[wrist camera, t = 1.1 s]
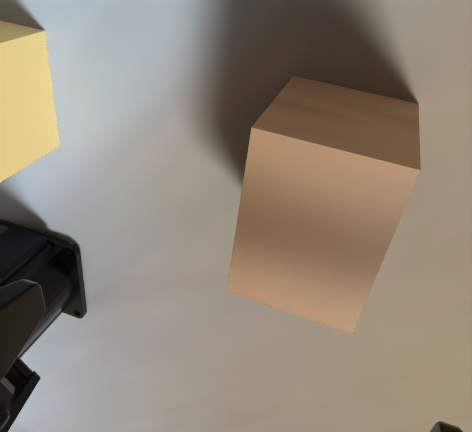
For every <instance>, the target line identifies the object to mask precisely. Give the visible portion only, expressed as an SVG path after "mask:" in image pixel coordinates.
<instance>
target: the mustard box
mask: <svg viewBox="0 0 472 432" xmlns="http://www.w3.org/2000/svg"><path fill="white" fill-rule="evenodd" d="M58 146H60V144H59V136H58V128H57V120H56V112H55V105H54V97H53V89H52V81H51V73H50V65H49V57H48V49H47V41H46V34H45V31H44V30H40V29H36V28H31V27H27V26H22V25H18V24H14V23H9V22H5V21H1V20H0V182H2V181H3V180H5V179H7V178H8V177H10V176H11V175H13V174H15V173H16V172H18V171H19V170H21V169H23V168H24V167H26V166H28V165H29V164H31V163H32V162H34V161H36V160H37V159H39V158H41V157H42V156H44V155H45V154H47V153H49V152H50V151H52V150H53V149H55V148H57V147H58Z"/></svg>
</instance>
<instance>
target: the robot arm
mask: <svg viewBox="0 0 472 432" xmlns="http://www.w3.org/2000/svg"><path fill="white" fill-rule="evenodd" d="M62 312H64V313H66V314H69V315H72V316H74V317H77V318H83V317H84V315H85V314H86V313H87V310H86V301H85V292H84V283H83V274H82V265H81V257H80V251H79V249H78V248H77V247H76V246H75V245H73V244H70V243H67V242H64V241H61V240H58V239H55V238H53V237H50V236H47V235H44V234H41V233H38V232H35V231H32V230H29V229H26V228H23V227H20V226H17V225H14V224H11V223H8V222H5V221H2V220H0V432H8V430H9V429H10V427H11V425H12V424H13V422H14V421H15V419H16V417H17V416H18V414H19V412H20V411H21V409H22V407H23V406H24V404H25V403H26V401H27V399H28V398H29V396H30V394H31V393H32V391H33V390H34V388H35V386H36V385H37V383H38V381H39V380H40V378H41V377H40V376H39V375H38V374H37V373H36V372H35V371H32V370H31V369H30V368H29V367H28V366H27V365H26V364H25V363H24V362H23V361H22V360H21V359H20V358H21V357H22V356H23V355H24V353H25V352H26V351H27V350H28V349H29V348H30V347H31V346H32V345H33V344H34V343H35V341H36V340H37V339H38V338H39V337H40V336H41V335H42V334H43V333H44V332H45V331H46V329H47V328H48V327H49V326H50V325H51V324H52V323H53V322H54V321H55V320H56V319H57V317H58V316H59V315H60V314H61V313H62ZM430 432H463V431H462V430H461V429H460V428H458V427H456V426H453V425H450V424H447V423H445V422H441V421H439V422H437V423H436V424H435V425H434V427H433V428H432V430H431V431H430Z"/></svg>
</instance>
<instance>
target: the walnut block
mask: <svg viewBox="0 0 472 432" xmlns="http://www.w3.org/2000/svg"><path fill="white" fill-rule="evenodd" d="M419 173H420V138H419V106H418V104H417V103H413V102H408V101H404V100H400V99H395V98H391V97H386V96H382V95H377V94H373V93H368V92H364V91H360V90H355V89H351V88H346V87H342V86H337V85H333V84H328V83H324V82H320V81H315V80H311V79H306V78H302V77H297V76H293V77H292V78H291V80H290V81H289V82H288V83H287V85H286V86H285V87H284V88H283V89H282V91H281V92H280V93H279V94H278V95H277V97H276V98H275V99H274V100H273V102H272V103H271V104H270V105H269V106H268V108H267V109H266V110H265V111H264V113H263V114H262V115H261V116H260V117H259V119H258V120H257V121H256V122H255V124H254V125H253V126H252V127H251V133H250V140H249V147H248V153H247V160H246V166H245V173H244V180H243V186H242V193H241V199H240V206H239V212H238V219H237V226H236V232H235V239H234V245H233V252H232V258H231V265H230V272H229V278H228V285H227V292H230V293H233V294H236V295H239V296H242V297H245V298H248V299H251V300H254V301H257V302H260V303H263V304H266V305H269V306H272V307H275V308H278V309H281V310H284V311H286V312H289V313H292V314H295V315H298V316H301V317H304V318H307V319H310V320H313V321H316V322H319V323H322V324H325V325H328V326H331V327H334V328H337V329H340V330H343V331H346V332H349V333H353V330H354V328H355V326H356V323H357V321H358V318H359V316H360V314H361V311H362V309H363V306H364V304H365V302H366V299H367V297H368V294H369V292H370V290H371V287H372V285H373V283H374V280H375V278H376V275H377V273H378V271H379V268H380V266H381V263H382V261H383V259H384V256H385V254H386V251H387V249H388V247H389V244H390V242H391V240H392V237H393V235H394V232H395V230H396V228H397V225H398V223H399V220H400V218H401V216H402V213H403V211H404V209H405V206H406V204H407V201H408V199H409V197H410V194H411V192H412V189H413V187H414V185H415V182H416V180H417V177H418V175H419Z"/></svg>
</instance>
